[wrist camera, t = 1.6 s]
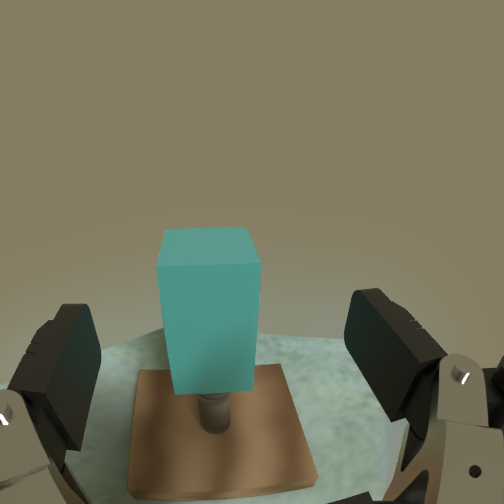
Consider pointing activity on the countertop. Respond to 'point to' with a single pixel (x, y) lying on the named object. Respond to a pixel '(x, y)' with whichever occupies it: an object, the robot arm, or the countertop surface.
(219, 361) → the tall teal pillar
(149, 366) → the countertop surface
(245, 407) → the post stand
